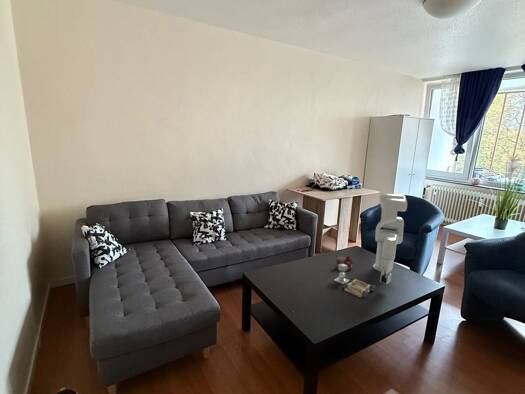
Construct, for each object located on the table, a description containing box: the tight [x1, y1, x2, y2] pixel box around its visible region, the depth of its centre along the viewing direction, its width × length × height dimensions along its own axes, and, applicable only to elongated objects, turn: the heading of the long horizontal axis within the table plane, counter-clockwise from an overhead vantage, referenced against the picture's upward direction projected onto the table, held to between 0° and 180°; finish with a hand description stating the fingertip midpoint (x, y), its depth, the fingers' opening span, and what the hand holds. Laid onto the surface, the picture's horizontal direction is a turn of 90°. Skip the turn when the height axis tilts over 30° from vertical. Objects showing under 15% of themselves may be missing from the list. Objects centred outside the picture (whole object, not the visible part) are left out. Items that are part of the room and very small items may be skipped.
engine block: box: [379, 272, 392, 285], centre depth 183 cm, size 5×5×6 cm
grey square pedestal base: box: [333, 271, 351, 285], centre depth 197 cm, size 8×8×6 cm
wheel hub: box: [337, 264, 348, 272], centre depth 196 cm, size 6×6×3 cm
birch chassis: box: [342, 276, 376, 299], centre depth 186 cm, size 16×16×4 cm
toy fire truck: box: [336, 255, 354, 271], centre depth 216 cm, size 7×12×10 cm, turn 81°
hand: (385, 280), depth 184 cm, fingers closed on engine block, 5 cm apart
